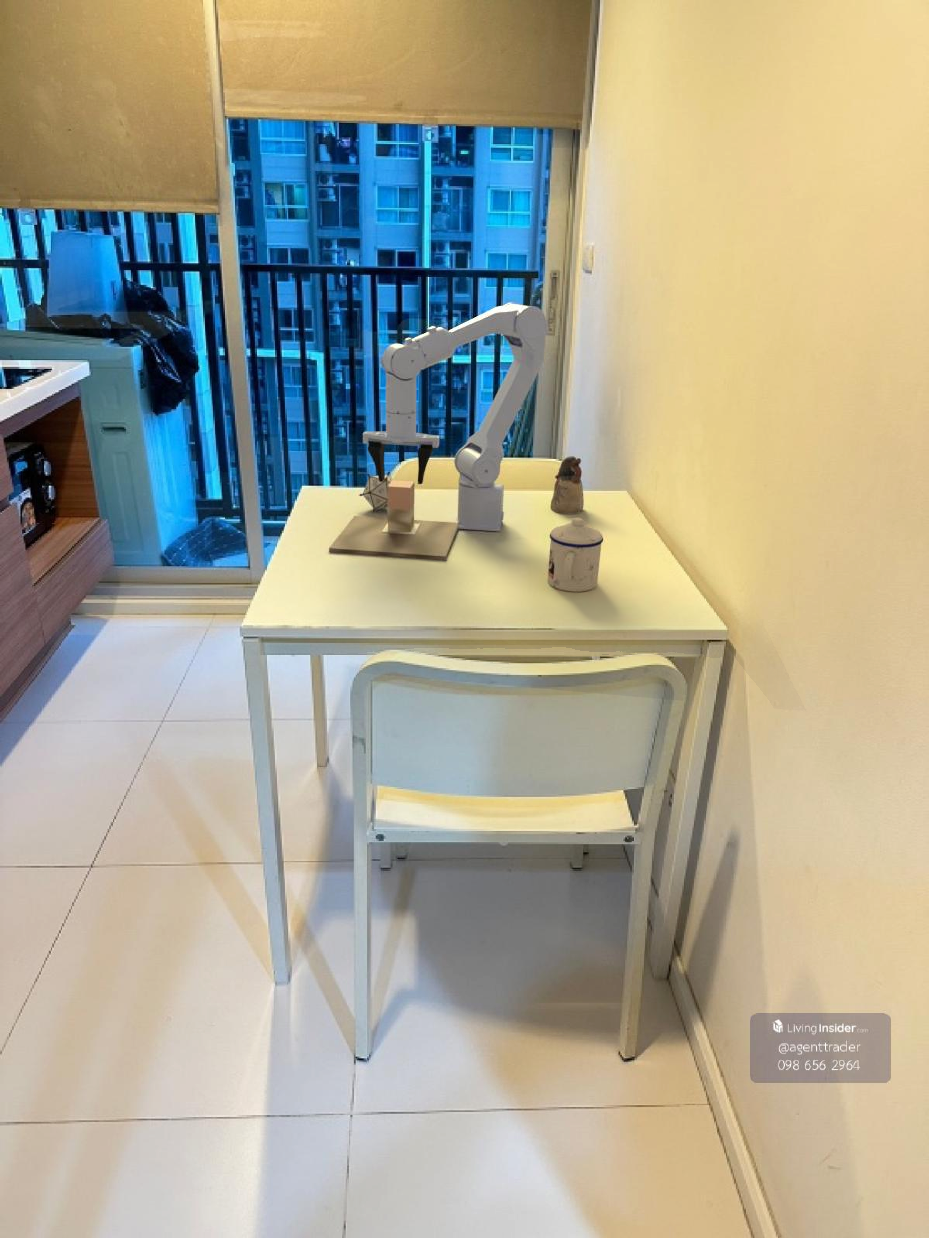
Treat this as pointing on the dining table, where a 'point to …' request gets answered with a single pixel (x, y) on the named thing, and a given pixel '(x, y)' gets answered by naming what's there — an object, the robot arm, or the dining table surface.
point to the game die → (377, 491)
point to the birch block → (400, 520)
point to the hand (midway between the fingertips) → (401, 481)
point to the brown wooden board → (396, 539)
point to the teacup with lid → (574, 557)
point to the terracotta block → (401, 495)
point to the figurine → (568, 488)
